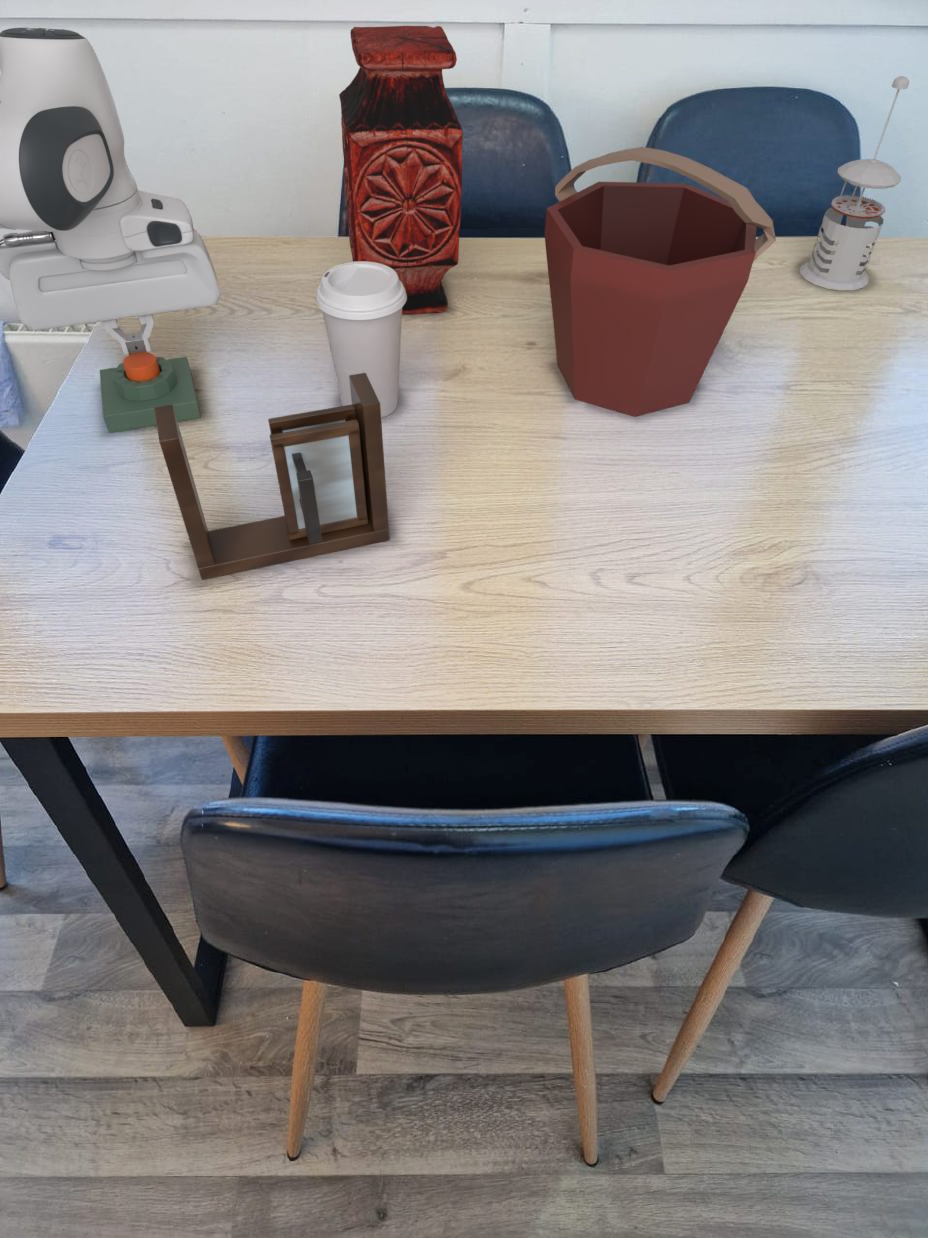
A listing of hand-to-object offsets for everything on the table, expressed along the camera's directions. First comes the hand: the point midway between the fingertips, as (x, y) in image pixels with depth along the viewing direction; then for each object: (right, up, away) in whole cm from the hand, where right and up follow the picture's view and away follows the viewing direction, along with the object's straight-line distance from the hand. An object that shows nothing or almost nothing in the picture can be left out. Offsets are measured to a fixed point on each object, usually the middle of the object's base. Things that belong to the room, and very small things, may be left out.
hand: (138, 351), depth 92 cm
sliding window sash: (+24, -23, -14) cm, 36 cm away
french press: (+90, +21, +30) cm, 97 cm away
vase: (+28, +15, +23) cm, 39 cm away
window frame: (+20, -22, -11) cm, 32 cm away
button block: (0, -4, +5) cm, 6 cm away
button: (0, -2, +2) cm, 3 cm away
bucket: (+56, 0, +10) cm, 57 cm away
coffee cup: (+25, -5, +5) cm, 26 cm away
